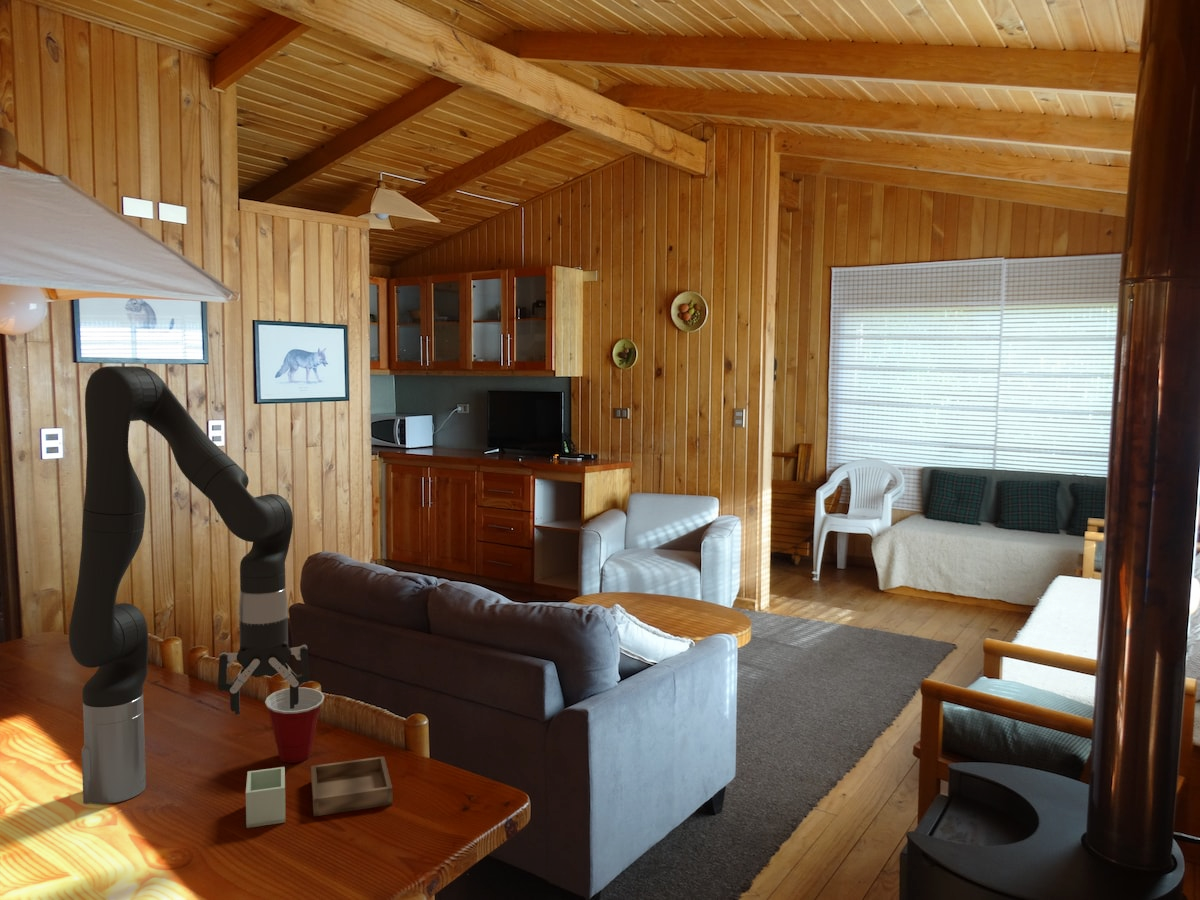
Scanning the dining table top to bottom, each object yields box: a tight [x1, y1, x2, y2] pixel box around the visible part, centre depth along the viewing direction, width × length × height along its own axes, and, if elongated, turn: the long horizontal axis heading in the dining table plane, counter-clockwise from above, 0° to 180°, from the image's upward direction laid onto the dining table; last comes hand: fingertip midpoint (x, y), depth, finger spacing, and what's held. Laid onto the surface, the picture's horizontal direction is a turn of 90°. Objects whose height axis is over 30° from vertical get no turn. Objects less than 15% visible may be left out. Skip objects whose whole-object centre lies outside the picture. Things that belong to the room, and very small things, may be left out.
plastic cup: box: [264, 686, 325, 764], centre depth 168 cm, size 11×11×12 cm
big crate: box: [310, 755, 393, 817], centre depth 155 cm, size 13×13×3 cm
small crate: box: [245, 766, 286, 829], centre depth 147 cm, size 6×8×6 cm
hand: (265, 709), depth 146 cm, fingers open, 8 cm apart
